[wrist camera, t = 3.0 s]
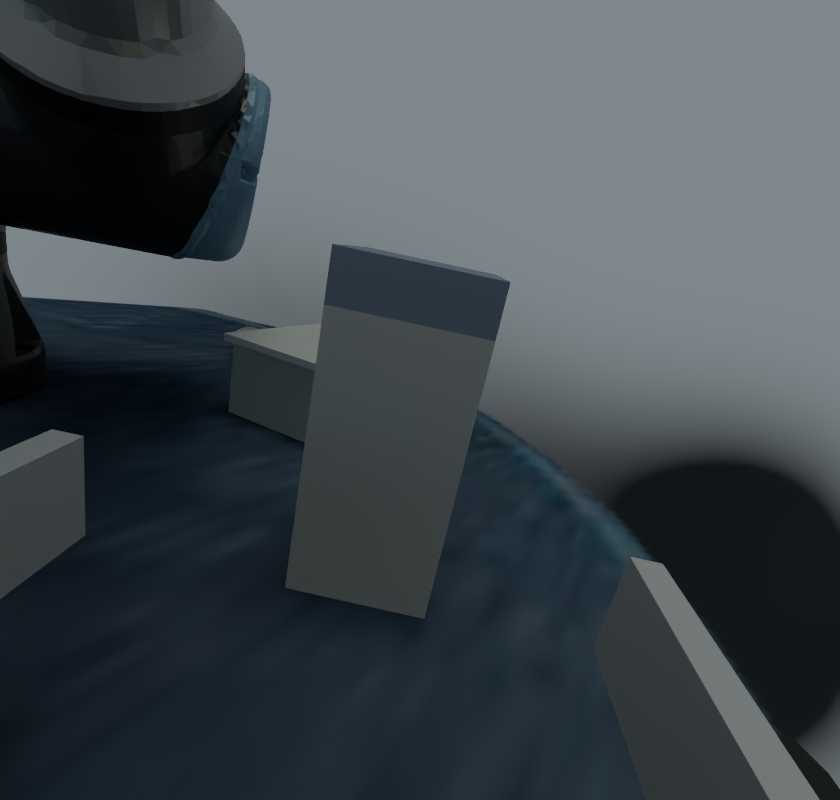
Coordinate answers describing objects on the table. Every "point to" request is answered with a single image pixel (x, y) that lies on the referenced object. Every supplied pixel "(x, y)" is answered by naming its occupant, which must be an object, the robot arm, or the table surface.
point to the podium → (274, 376)
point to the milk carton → (389, 424)
